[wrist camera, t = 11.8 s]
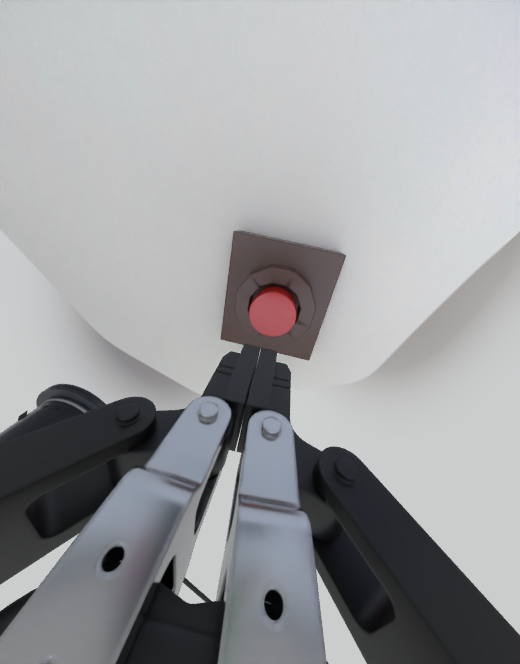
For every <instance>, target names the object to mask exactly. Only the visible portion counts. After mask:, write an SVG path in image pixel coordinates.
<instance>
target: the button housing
mask: <svg viewBox="0 0 520 664" xmlns="http://www.w3.org/2000/svg"><path fill="white" fill-rule="evenodd" d="M345 257H346V255H344V254H342V253H341V252H337V251H332V250H327V249H323V248H318V247H313V246H309V245H304V244H300V243H295V242H290V241H286V240H281V239H276V238H272V237H267V236H263V235H258V234H253V233H249V232H244V231H234V234H233V242H232V251H231V259H230V267H229V275H228V283H227V291H226V299H225V308H224V316H223V324H222V332H221V340H226V341H230V342H234V343H238V344H242V345H244V344H249V345H253V346H258V347H260V349H261V348H267V349H271V350H275V351H277V353H280V354H284V355H289V356H293V357H297V358H301V359H305V360H309V359H310V356H311V353H312V351H313V348H314V345H315V342H316V339H317V336H318V334H319V331H320V328H321V325H322V322H323V319H324V317H325V314H326V311H327V308H328V305H329V302H330V300H331V297H332V294H333V291H334V288H335V285H336V283H337V280H338V277H339V274H340V271H341V268H342V265H343V263H344V260H345ZM267 287H280V288H283V289H285V290H287V291H288V292H289V293H290V294H291V295H292V296H293V298H294V300H295V302H296V321H295V324H294V326H293V327H292V328H291V330H290V331H288V332H287V333H285V334H283V335H281V336H276V337H271V336H266V335H263V334H261V333H259V332H258V331H257V330H256V329H255V328H254V327H253V325H252V324H251V322H250V318H249V309H250V306H251V304H252V302H253V300H254V298H255V297H256V295H257V294H258V293H259V292H260V291H261V290H263V289H265V288H267Z"/></svg>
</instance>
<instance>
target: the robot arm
mask: <svg viewBox="0 0 520 664" xmlns="http://www.w3.org/2000/svg"><path fill="white" fill-rule="evenodd" d="M259 352H260V347H258V346H253V345H249V344H244V347H243V349H242V351H241V354H240V353H235V352H229V353H228V354H226V355H225V356H223V358H222V360H221V361H220V363H219V366H218V367H217V369H216V371H215V372H214V374H213V376H212V378H211V380H210V382H209V383H208V385H207V387H206V389H205V391H204V393H203V394H202V396H201V397H200V398H197V399H195V400H193V401H192V402H191V403H190V404H189V405H188V406H187V407H186V408H185V409H180V410H168V411H156V408H155V405H154V404H153V402H151V401H150V400H148V399H146V398H143V397H129V398H124V399H121V400H118V401H115V402H113V403H110V404H107V405H104V406H102V407H99V408H96V409H93V410H90V409H89V408H87V407H86V406H84V405H83V404H81V403H79V402H77V401H75V400H73V399H70V398H66V397H60V396H56V397H51V398H49V399H48V400H46V401H45V402H43V403H42V404H41V405H40V406H39V407H37V408H36V409H35V410H33V411H32V412H30V413H29V414H27V411H26V412H25V413H23V414H22V415H20V416H19V419H18V421H17V422H16V423H14V424H13V425H12V426H10V427H9V428H7V429H6V430H4V431H3V432H2V433H0V584H2V583H3V582H5V581H6V580H8V579H9V578H11V577H13V576H14V575H16V574H17V573H19V572H20V571H22V570H23V569H25V568H26V567H28V566H29V565H31V564H32V563H34V562H35V561H37V560H39V559H40V558H42V557H43V556H45V555H46V554H48V553H49V552H51V551H52V550H54V549H55V548H57V547H59V546H60V545H61V544H63V543H65V542H66V541H68V540H69V539H71V538H72V537H74V536H75V535H77V534H78V533H79V535H78V536H77V537H76V539H75V540H74V541H73V542H72V544H71V545H70V547H69V548H68V549H67V551H66V552H65V553H64V554H63V555H62V557H61V558H60V559H59V561H58V562H57V563H56V565H55V566H54V567H53V568H52V570H51V571H50V573H49V574H48V575H47V576H46V578H45V579H44V580H43V582H42V583H41V584H40V586H39V587H38V588H37V589H34V590H33V591H31V592H29V593H28V594H26V595H24V596H23V597H21V598H19V599H18V600H16V601H15V602H13V603H12V604H10V605H9V606H7V607H6V608H4V609H3V610H1V611H0V664H328V662H327V661H326V655H325V647H324V638H323V628H322V620H321V611H320V602H319V594H318V585H317V576H316V569H317V570H318V573H319V574H320V576H321V578H322V580H323V582H324V584H325V586H326V588H327V589H328V591H329V593H330V595H331V597H332V599H333V601H334V603H335V604H336V606H337V608H338V610H339V612H340V614H341V616H342V618H343V619H344V621H345V623H346V625H347V627H348V629H349V631H350V633H351V634H352V636H353V638H354V640H355V642H356V644H357V646H358V648H359V649H360V651H361V653H362V655H363V657H364V659H365V661H366V662H367V664H520V635H519V634H518V633H517V632H516V631H515V630H514V628H513V627H512V626H511V625H510V624H509V623H508V622H507V621H506V620H505V619H504V618H503V616H502V615H501V614H500V613H499V612H498V611H497V610H496V609H495V608H494V607H493V605H492V604H491V603H490V602H489V601H488V600H487V599H486V598H485V597H484V595H483V594H482V593H481V592H480V591H479V590H478V589H477V588H476V587H475V586H474V584H473V583H472V582H471V581H470V580H469V579H468V578H467V577H466V576H465V575H464V573H463V572H462V571H461V570H460V569H459V568H458V567H457V566H456V565H455V564H454V563H453V561H452V560H451V559H450V558H449V557H448V556H447V555H446V554H445V553H444V552H443V550H442V549H441V548H440V547H439V546H438V545H437V544H436V543H435V542H434V540H432V538H431V537H430V536H429V535H428V534H427V533H426V532H425V531H424V530H423V528H422V527H421V526H420V525H419V524H418V523H417V522H416V521H415V520H414V519H413V517H412V516H411V515H410V514H409V513H408V512H407V511H406V510H405V509H404V508H403V506H402V505H401V504H400V503H399V502H398V501H397V500H396V499H395V498H394V497H393V496H392V494H391V493H390V492H389V491H388V490H387V489H386V488H385V487H384V486H383V484H382V483H381V482H380V481H379V480H378V479H377V478H376V477H375V476H374V475H373V473H372V472H371V471H370V470H369V469H368V468H367V467H366V466H365V465H364V464H363V462H361V460H360V459H359V458H357V456H355V455H354V454H353V453H351V452H350V451H348V450H346V449H343V448H340V447H329V448H326V449H324V450H323V451H320V450H318V449H316V448H315V447H313V446H311V445H309V444H308V443H306V442H305V441H303V440H302V439H301V438H299V436H298V435H297V434H296V433H295V432H294V430H293V428H292V425H291V423H290V386H291V383H290V381H291V372H290V370H289V368H288V366H287V365H286V364H283V363H278V362H276V356H277V351H275V350H271V349H267V348H261V352H260V356H259ZM258 357H259V359H258ZM257 361H258V363H257ZM256 366H257V367H256ZM243 418H244V419H243ZM242 422H243V423H242ZM241 426H242V428H241ZM240 429H241V433H240ZM239 433H240V438H239V442H238V447H237V452H241V453H242V454H241V458H240V463H239V467H238V472H237V476H236V482H235V489H234V495H233V501H232V507H231V514H230V520H229V527H228V533H227V539H226V545H225V551H224V557H223V562H222V567H221V573H220V579H219V585H218V591H217V597H216V601H215V602H212V601H211V600H210V599H208V598H207V597H206V596H205V595H204V594H203V593H202V592H200V591H199V590H198V589H197V588H196V587H195V586H194V585H193V584H192V583H190V582H189V581H188V580H187V579H186V578H185V574H186V572H187V568H188V566H189V562H190V559H191V556H192V552H193V548H194V545H195V542H196V539H197V536H198V533H199V531H200V528H201V525H202V523H203V520H204V517H205V515H206V512H207V509H208V507H209V504H210V501H211V498H212V496H213V493H214V491H215V488H216V485H217V482H218V480H219V477H220V475H221V471H222V468H223V466H224V464H225V461H226V458H227V454H228V451H229V450H232V451H235V448H236V445H237V441H238V437H239ZM182 583H184V584H185V585H187V586H188V587H189V588H190V589H191V590H192V591H194V592H195V593H196V594H197V595H198V596H199V597H200V598H202V599H203V600H204V601H205V602H206V603H200V604H189V603H186V602H185V601H183V600H182V599H181V598H180V597H178V594H179V591H180V588H181V585H182Z"/></svg>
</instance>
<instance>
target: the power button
mask: <svg viewBox="0 0 520 664" xmlns="http://www.w3.org/2000/svg"><path fill="white" fill-rule="evenodd" d="M249 318H250V322H251V324H252V325H253V327H254V328H255V329H256V330H257V331H258V332H259V333H261V334H263V335H266V336H271V337H276V336H281V335H283V334H285V333H287V332H288V331H290V330H291V328H292V327H293V326H294V324H295V321H296V302H295V300H294V298H293V296H292V295H291V294H290V293H289V292H288V291H287V290H285V289H283V288H280V287H267V288H265V289H263V290H261V291H260V292H259V293H258V294H257V295H256V297H255V298H254V300H253V302H252V304H251V306H250V309H249Z"/></svg>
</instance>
